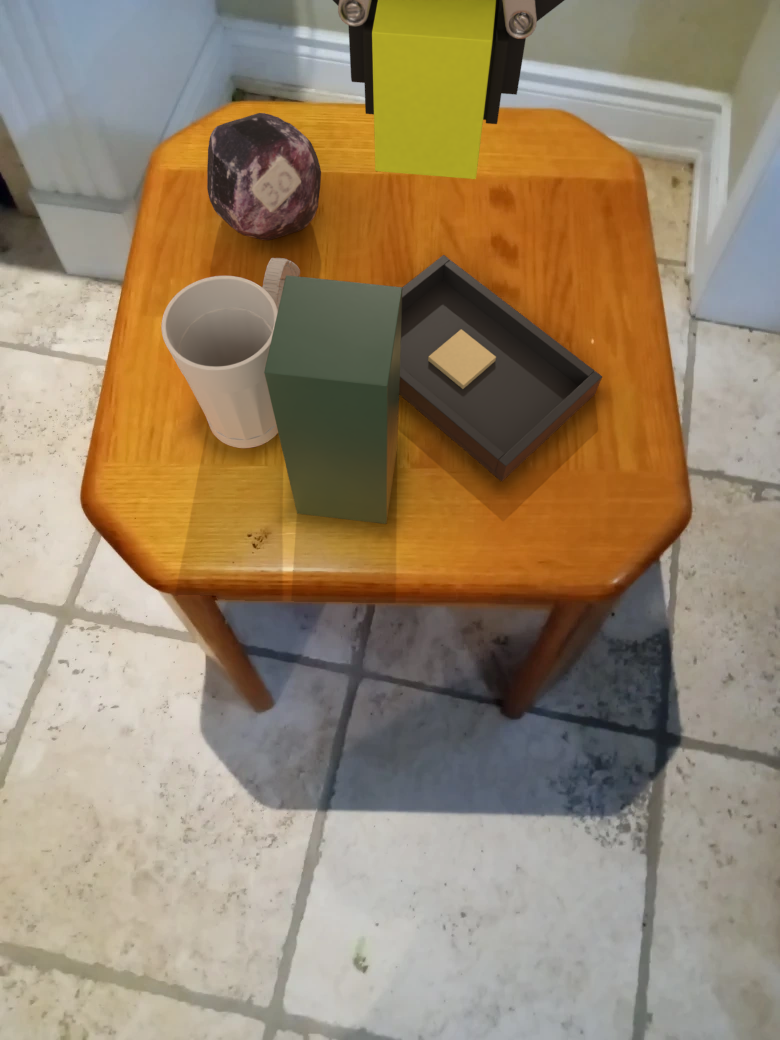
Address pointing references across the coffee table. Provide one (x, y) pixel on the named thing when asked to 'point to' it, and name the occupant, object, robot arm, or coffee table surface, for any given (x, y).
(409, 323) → the pan
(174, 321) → the cup
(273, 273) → the wristwatch
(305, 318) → the tall green box
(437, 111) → the yellow-green rectangular block
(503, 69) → the robot arm
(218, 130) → the mineral specimen
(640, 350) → the coffee table surface
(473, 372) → the beige flat square block
